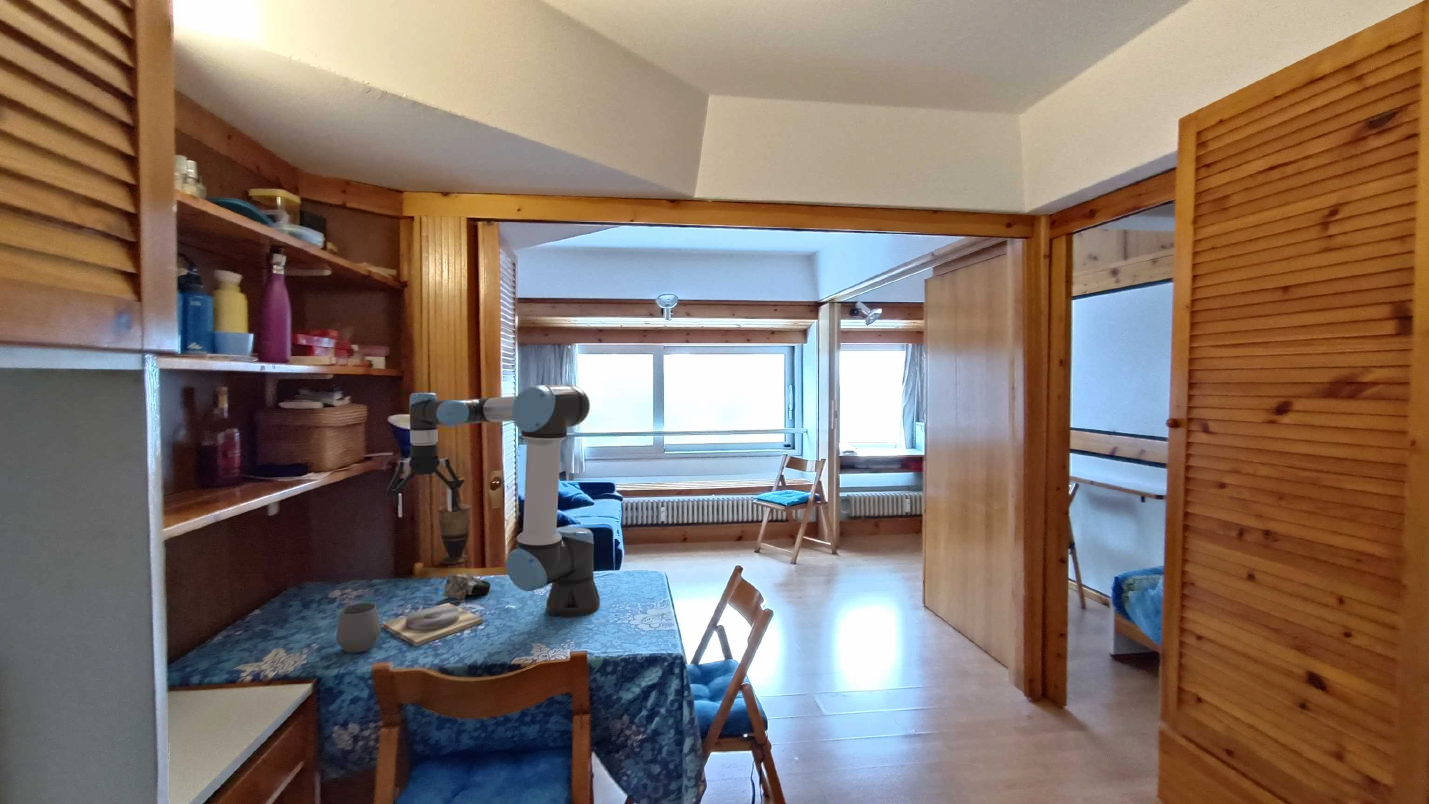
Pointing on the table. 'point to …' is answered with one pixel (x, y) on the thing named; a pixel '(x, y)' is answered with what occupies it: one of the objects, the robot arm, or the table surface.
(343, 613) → the cup
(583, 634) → the table surface
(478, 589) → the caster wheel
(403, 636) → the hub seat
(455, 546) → the vase
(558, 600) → the robot arm
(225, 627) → the table surface
